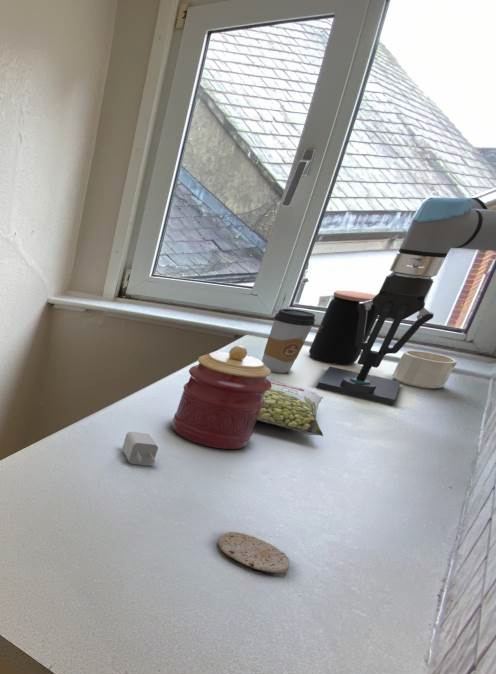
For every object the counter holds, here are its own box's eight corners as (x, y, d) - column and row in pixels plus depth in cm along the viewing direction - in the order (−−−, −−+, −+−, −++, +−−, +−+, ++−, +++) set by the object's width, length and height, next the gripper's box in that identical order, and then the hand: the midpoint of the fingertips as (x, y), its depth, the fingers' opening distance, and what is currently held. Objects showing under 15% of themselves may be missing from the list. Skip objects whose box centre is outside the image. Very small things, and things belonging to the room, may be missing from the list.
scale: (398, 386, 134) (404, 375, 133) (392, 406, 122) (398, 393, 121) (327, 371, 143) (332, 360, 142) (315, 388, 131) (320, 376, 130)
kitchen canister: (155, 424, 108) (182, 337, 100) (204, 417, 112) (233, 333, 105) (212, 454, 97) (248, 360, 90) (264, 446, 101) (302, 355, 94)
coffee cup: (265, 373, 140) (288, 315, 133) (249, 362, 147) (270, 307, 140) (300, 376, 139) (325, 317, 132) (282, 365, 146) (305, 309, 139)
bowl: (442, 383, 138) (457, 357, 135) (441, 393, 132) (457, 365, 128) (392, 373, 144) (405, 347, 141) (389, 381, 138) (403, 355, 134)
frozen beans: (203, 388, 110) (220, 359, 128) (193, 414, 112) (211, 382, 130) (331, 422, 99) (330, 385, 117) (316, 450, 102) (317, 409, 120)
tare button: (367, 387, 128) (370, 380, 127) (365, 390, 126) (369, 383, 125) (349, 383, 130) (353, 376, 129) (348, 386, 128) (351, 379, 127)
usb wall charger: (145, 454, 97) (151, 433, 95) (157, 473, 91) (164, 452, 89) (121, 451, 97) (127, 431, 95) (131, 470, 91) (138, 449, 89)
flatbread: (205, 546, 73) (208, 540, 72) (234, 530, 77) (237, 524, 76) (272, 583, 67) (275, 577, 66) (300, 564, 70) (303, 557, 70)
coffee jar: (326, 352, 159) (353, 290, 151) (364, 364, 149) (396, 299, 141) (297, 354, 156) (324, 290, 148) (335, 366, 147) (366, 299, 139)
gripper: (370, 272, 118) (323, 374, 129) (453, 282, 110) (396, 391, 121) (373, 268, 123) (328, 367, 134) (453, 278, 115) (399, 383, 125)
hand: (360, 378), depth 127 cm, fingers closed
